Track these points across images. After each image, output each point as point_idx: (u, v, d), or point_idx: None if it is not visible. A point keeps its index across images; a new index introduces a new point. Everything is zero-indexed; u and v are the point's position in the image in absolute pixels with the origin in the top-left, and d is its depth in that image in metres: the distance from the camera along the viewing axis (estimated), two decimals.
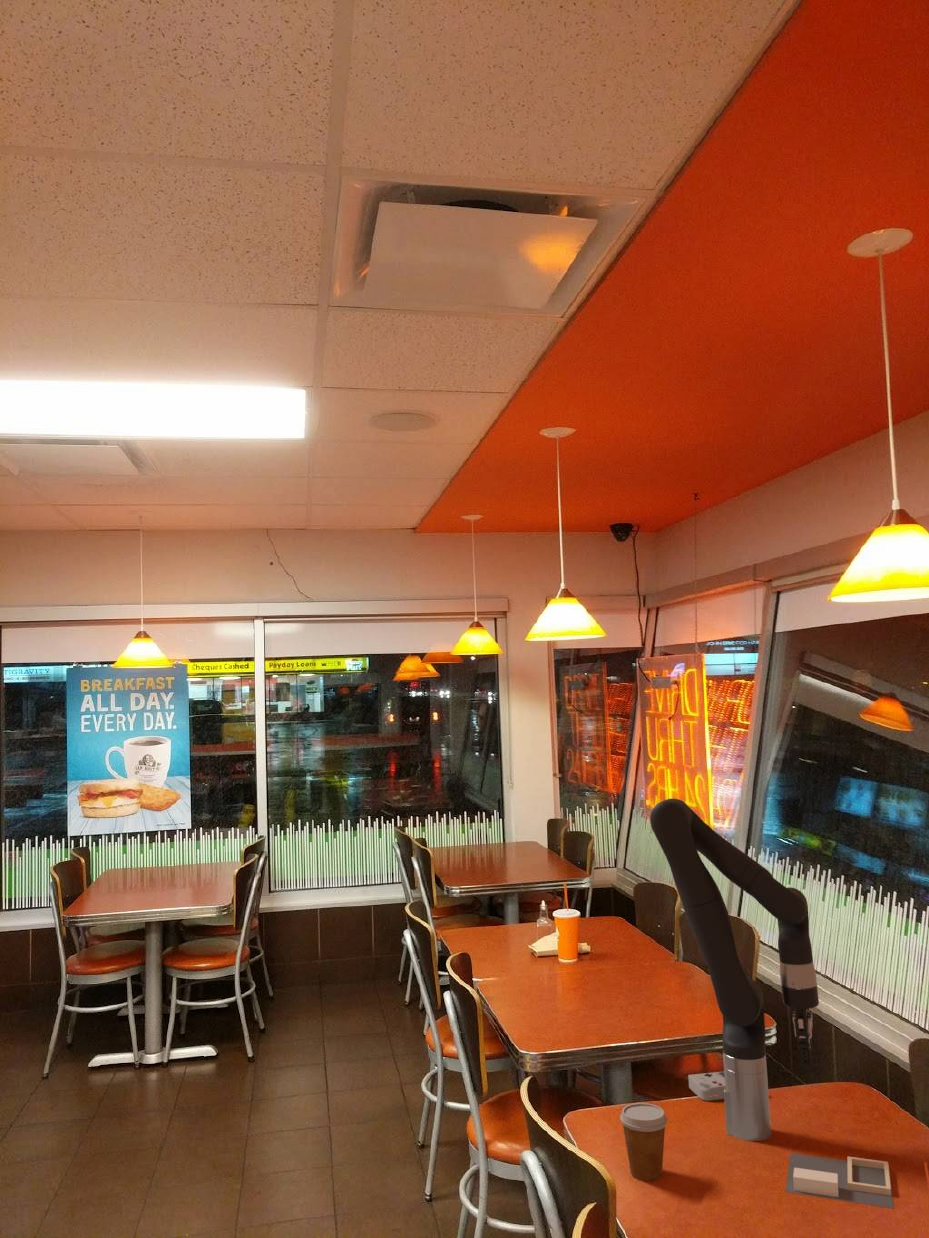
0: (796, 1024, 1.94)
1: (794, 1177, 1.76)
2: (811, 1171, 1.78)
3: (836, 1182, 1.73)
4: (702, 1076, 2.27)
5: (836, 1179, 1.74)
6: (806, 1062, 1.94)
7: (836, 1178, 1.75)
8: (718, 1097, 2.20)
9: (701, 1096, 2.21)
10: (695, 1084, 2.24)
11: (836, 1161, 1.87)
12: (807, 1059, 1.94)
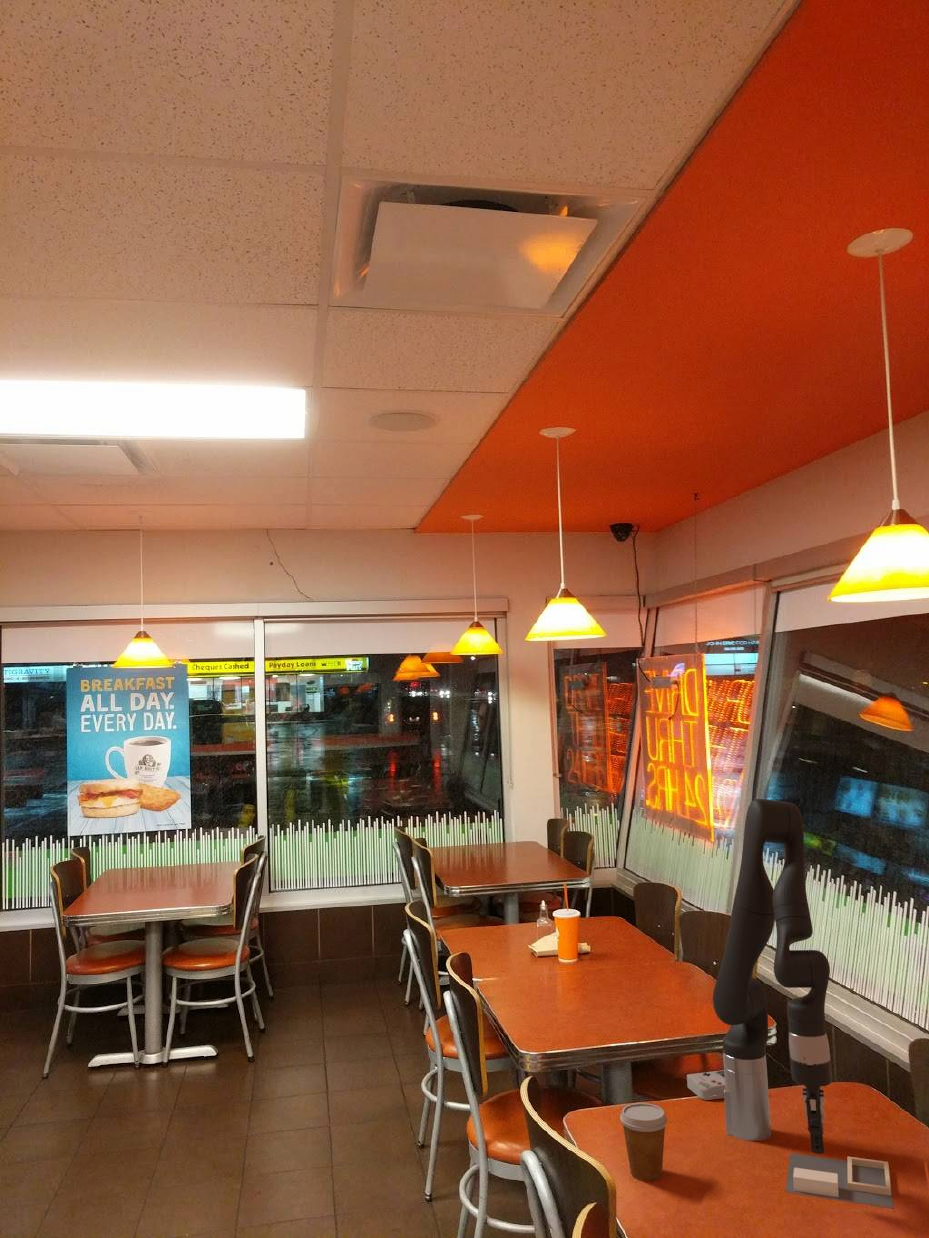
0: (808, 1105, 1.72)
1: (794, 1177, 1.76)
2: (811, 1171, 1.78)
3: (836, 1182, 1.73)
4: (701, 1075, 2.27)
5: (836, 1179, 1.74)
6: (818, 1148, 1.72)
7: (836, 1178, 1.75)
8: (718, 1096, 2.21)
9: (701, 1095, 2.21)
10: (694, 1084, 2.24)
11: (836, 1161, 1.87)
12: (819, 1145, 1.72)
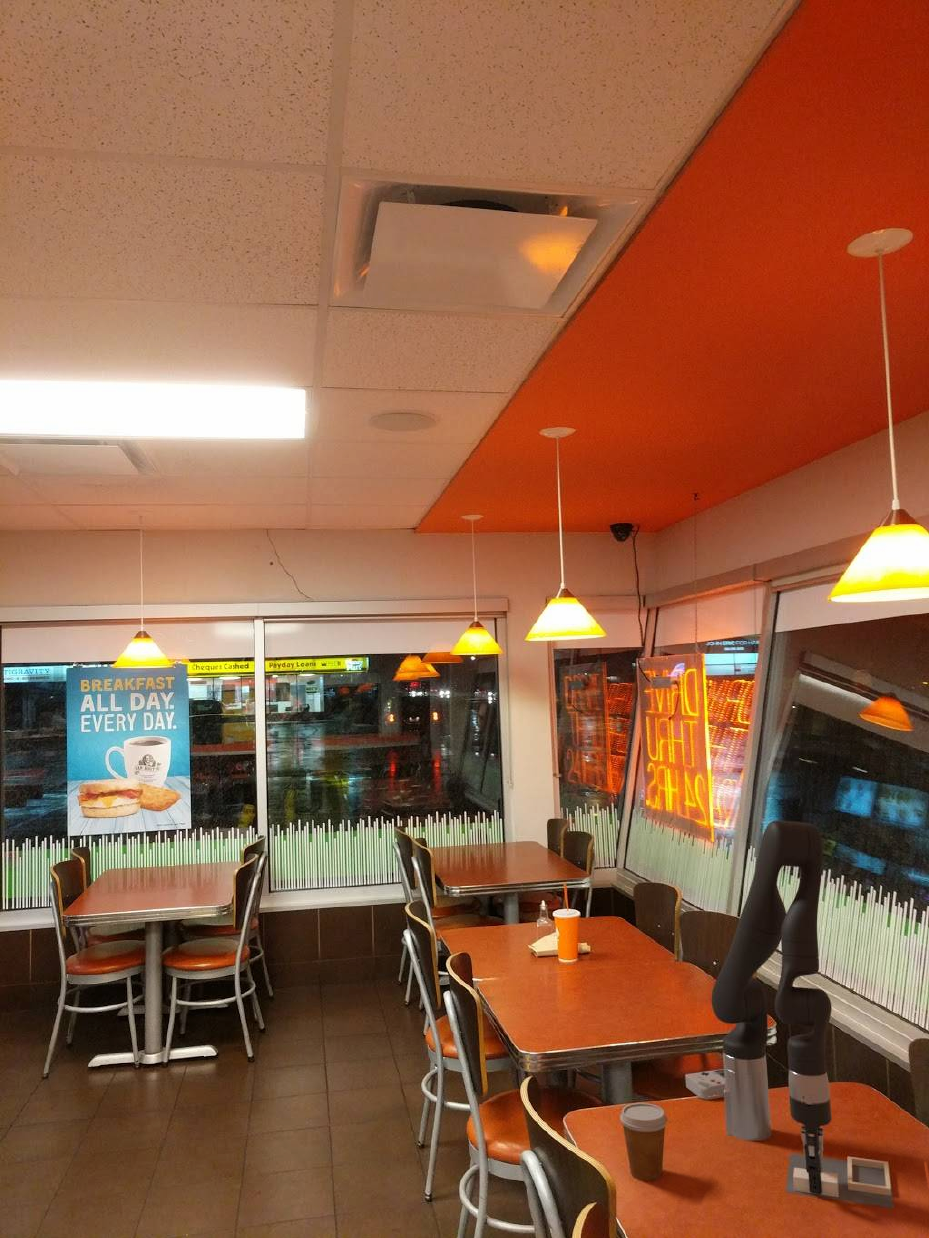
0: (806, 1152, 1.72)
1: (794, 1177, 1.76)
2: None
3: (836, 1182, 1.73)
4: (699, 1075, 2.28)
5: (836, 1179, 1.74)
6: (816, 1188, 1.73)
7: (836, 1178, 1.75)
8: None
9: (701, 1095, 2.21)
10: (694, 1083, 2.25)
11: (836, 1161, 1.87)
12: (817, 1185, 1.73)
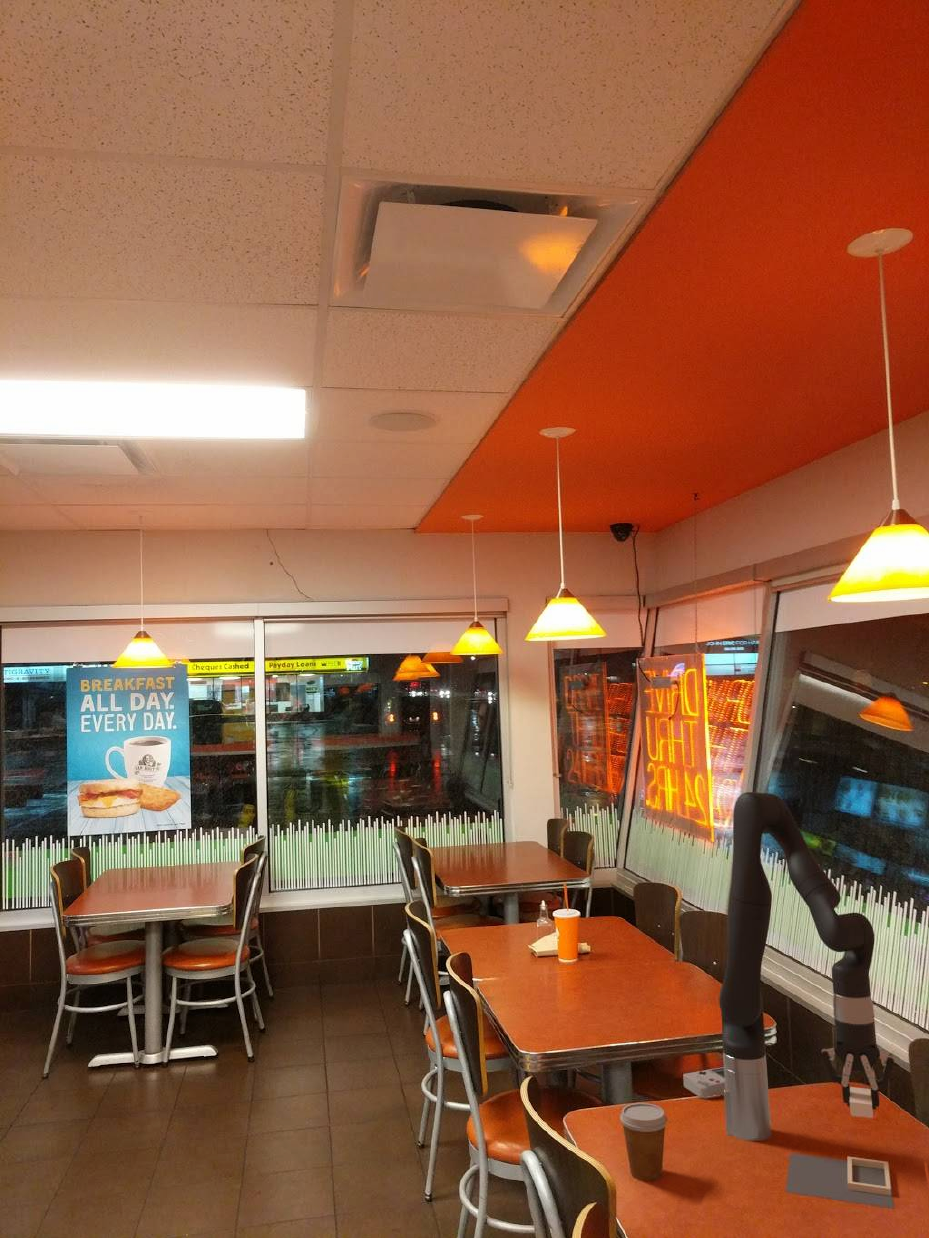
0: None
1: (850, 1087, 1.85)
2: (868, 1094, 1.81)
3: (851, 1101, 1.78)
4: (697, 1074, 2.28)
5: (858, 1102, 1.78)
6: None
7: (860, 1102, 1.77)
8: (717, 1094, 2.22)
9: (700, 1094, 2.22)
10: (692, 1083, 2.25)
11: (836, 1161, 1.87)
12: None
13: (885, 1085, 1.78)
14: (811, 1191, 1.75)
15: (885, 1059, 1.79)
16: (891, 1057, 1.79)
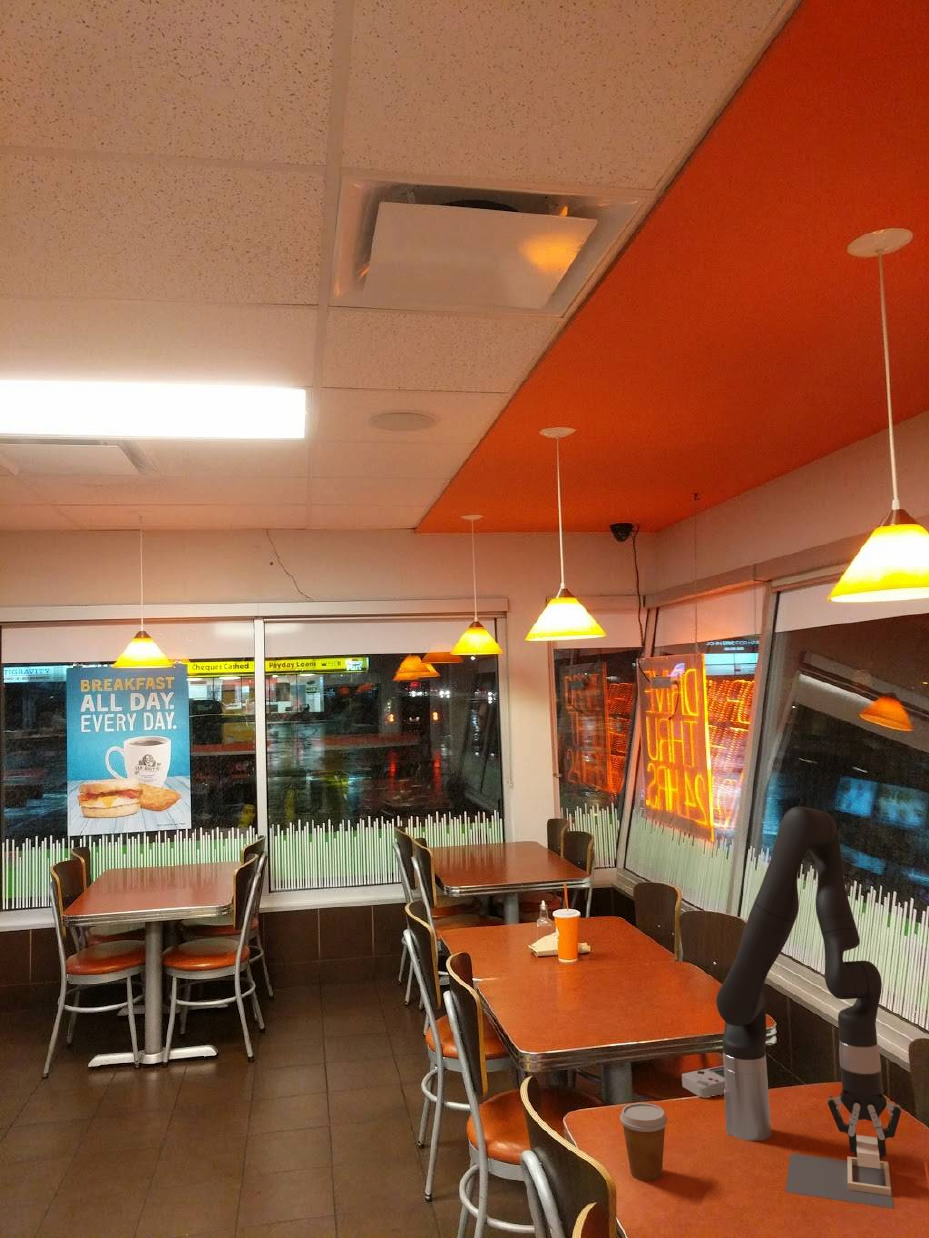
0: None
1: (856, 1136, 1.84)
2: (874, 1144, 1.80)
3: (858, 1152, 1.77)
4: (695, 1074, 2.29)
5: (865, 1152, 1.77)
6: None
7: (867, 1153, 1.77)
8: (716, 1093, 2.22)
9: (700, 1094, 2.22)
10: (692, 1082, 2.25)
11: (836, 1161, 1.87)
12: None
13: (892, 1135, 1.78)
14: (811, 1191, 1.75)
15: (892, 1108, 1.79)
16: (898, 1106, 1.79)
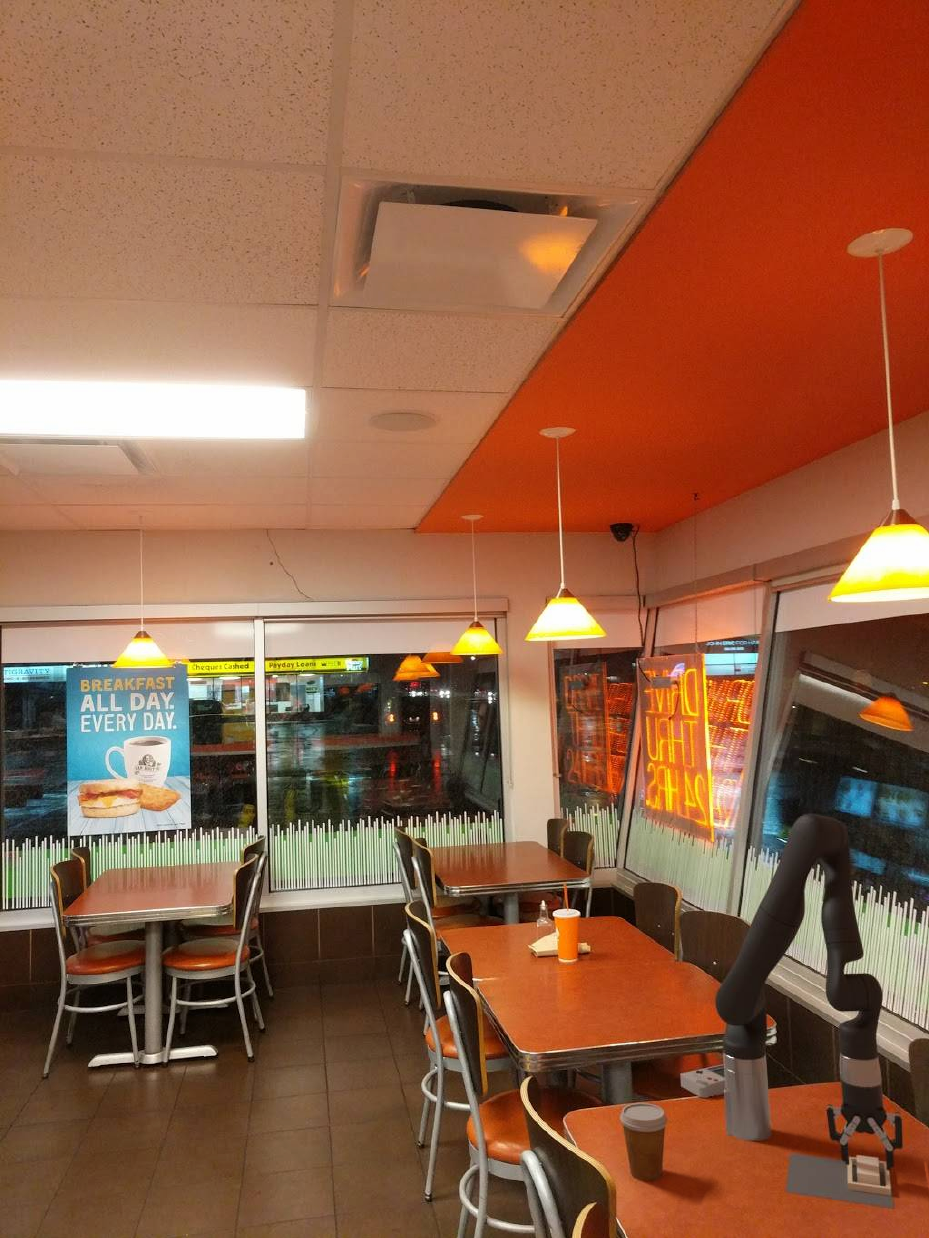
0: None
1: (857, 1156, 1.84)
2: (875, 1164, 1.80)
3: (858, 1172, 1.77)
4: (694, 1073, 2.29)
5: (865, 1173, 1.76)
6: None
7: (867, 1174, 1.76)
8: (715, 1093, 2.23)
9: (700, 1094, 2.22)
10: (691, 1082, 2.25)
11: (836, 1161, 1.87)
12: None
13: (900, 1146, 1.77)
14: (811, 1191, 1.75)
15: (893, 1119, 1.78)
16: (898, 1115, 1.78)
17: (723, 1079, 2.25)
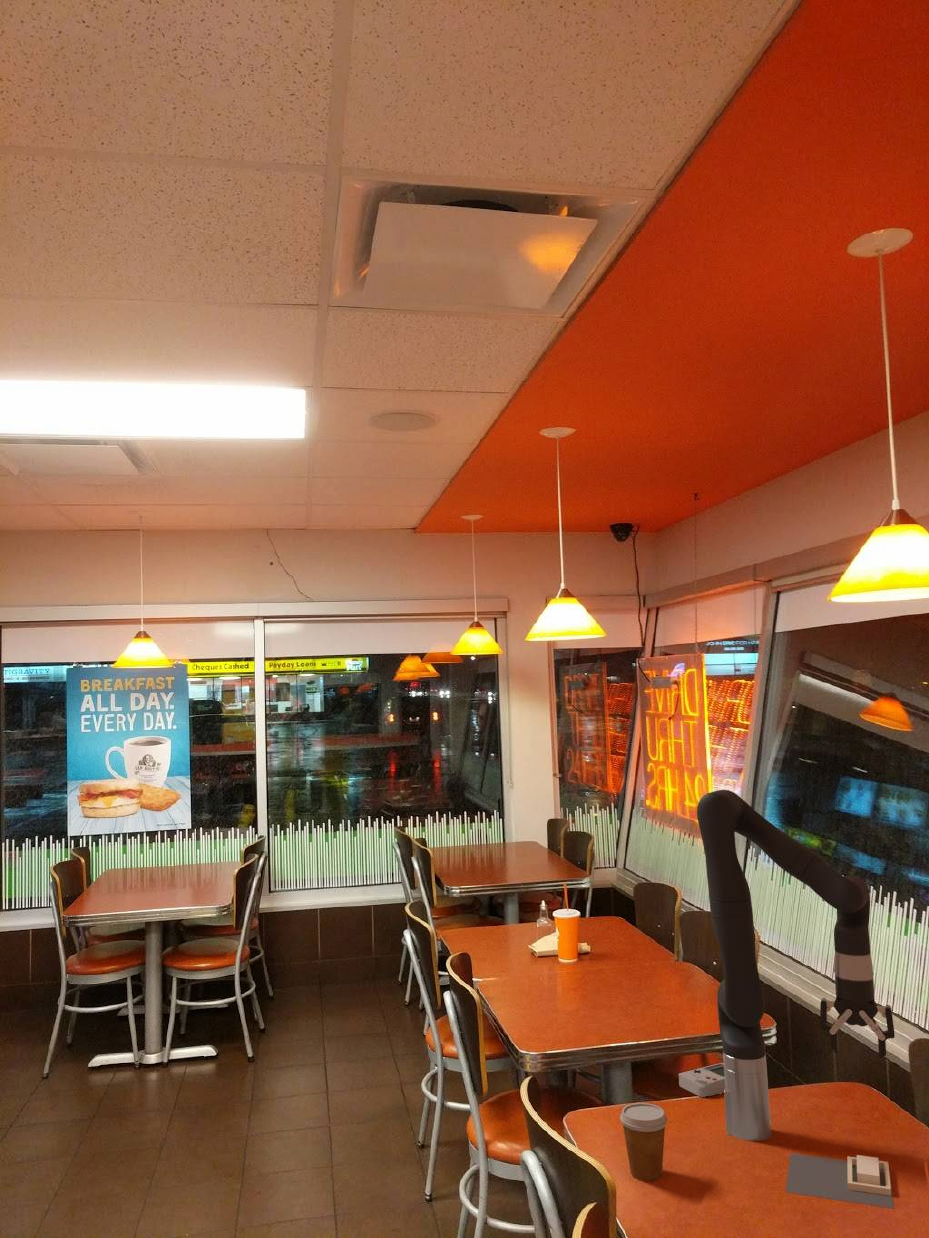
0: None
1: (857, 1156, 1.84)
2: (875, 1164, 1.80)
3: (858, 1172, 1.77)
4: (692, 1073, 2.29)
5: (865, 1173, 1.76)
6: None
7: (867, 1174, 1.76)
8: (715, 1092, 2.23)
9: (699, 1093, 2.23)
10: (690, 1082, 2.25)
11: (836, 1161, 1.87)
12: None
13: (892, 1036, 1.86)
14: (811, 1191, 1.75)
15: (883, 1011, 1.88)
16: (888, 1007, 1.88)
17: (722, 1078, 2.25)
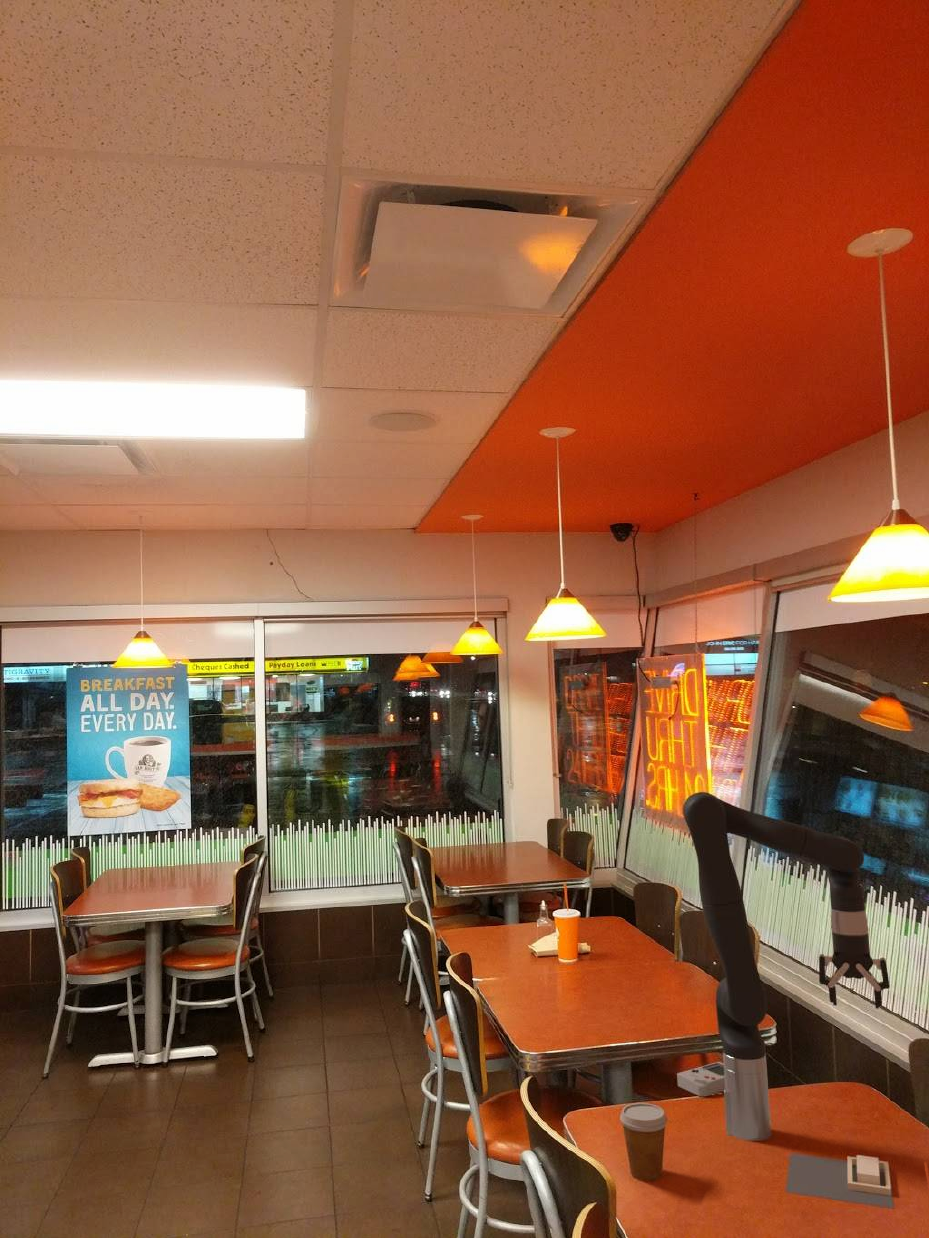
0: None
1: (857, 1156, 1.84)
2: (875, 1164, 1.80)
3: (858, 1172, 1.77)
4: (691, 1073, 2.29)
5: (865, 1173, 1.76)
6: None
7: (867, 1174, 1.76)
8: (714, 1091, 2.24)
9: (699, 1093, 2.23)
10: (689, 1081, 2.26)
11: (836, 1161, 1.87)
12: None
13: (887, 986, 1.97)
14: (811, 1191, 1.75)
15: (878, 963, 1.98)
16: (882, 959, 1.98)
17: (720, 1077, 2.26)
